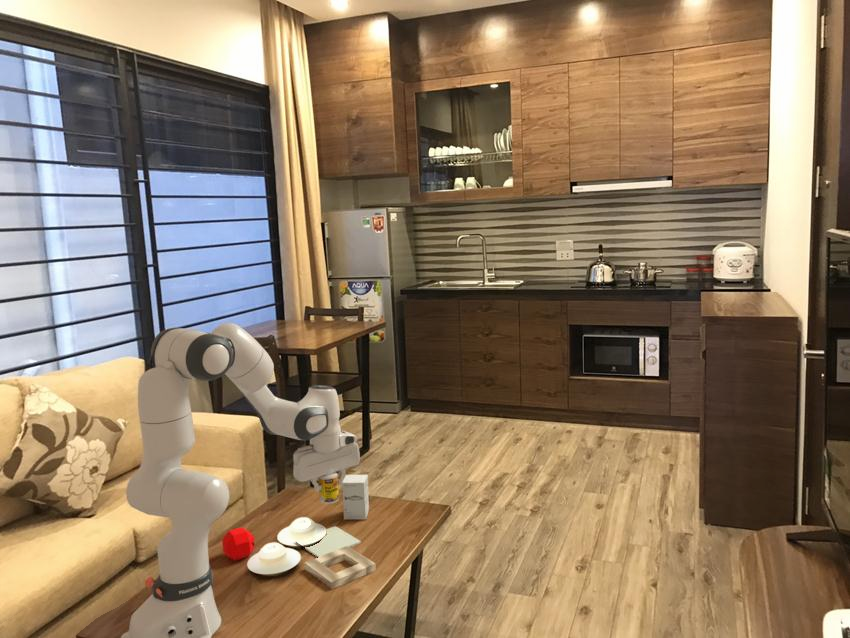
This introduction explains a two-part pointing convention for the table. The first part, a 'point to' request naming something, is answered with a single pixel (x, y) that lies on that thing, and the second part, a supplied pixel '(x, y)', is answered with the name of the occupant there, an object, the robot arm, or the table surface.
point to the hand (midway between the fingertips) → (328, 487)
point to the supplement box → (355, 497)
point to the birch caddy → (335, 580)
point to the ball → (238, 543)
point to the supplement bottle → (329, 487)
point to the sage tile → (333, 542)
